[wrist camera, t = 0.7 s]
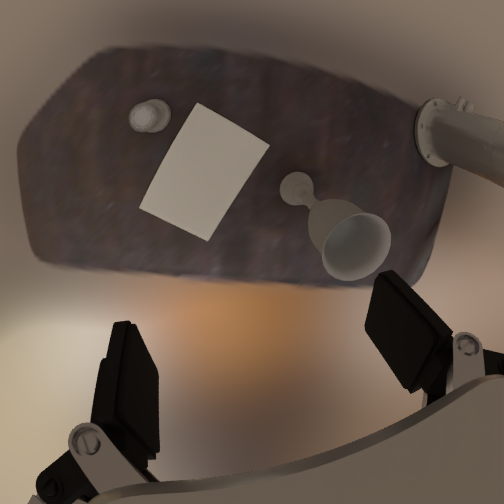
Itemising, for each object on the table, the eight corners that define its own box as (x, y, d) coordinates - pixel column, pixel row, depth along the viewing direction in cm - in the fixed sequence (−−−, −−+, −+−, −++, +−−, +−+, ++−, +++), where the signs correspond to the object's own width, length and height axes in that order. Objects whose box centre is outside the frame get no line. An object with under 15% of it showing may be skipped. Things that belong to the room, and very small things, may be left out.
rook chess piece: (169, 95, 30) (160, 91, 23) (173, 128, 32) (166, 133, 25) (135, 103, 29) (118, 102, 23) (140, 135, 32) (124, 143, 25)
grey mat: (197, 102, 31) (197, 102, 31) (268, 144, 35) (269, 145, 35) (139, 206, 36) (139, 207, 36) (207, 239, 41) (207, 241, 40)
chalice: (266, 205, 40) (310, 276, 24) (280, 159, 37) (339, 204, 21) (311, 215, 42) (372, 284, 26) (326, 173, 39) (401, 223, 23)
